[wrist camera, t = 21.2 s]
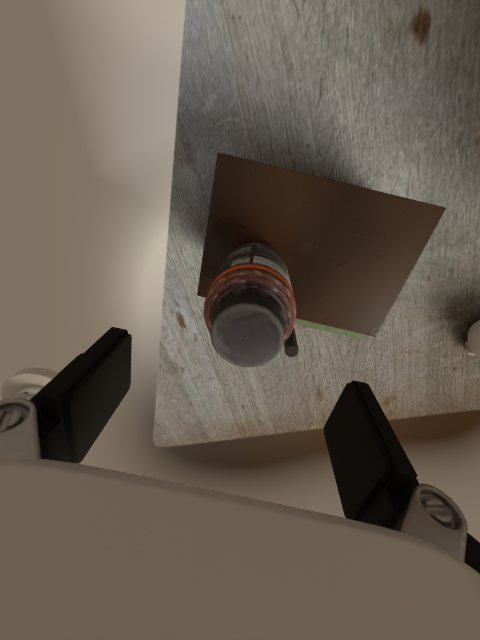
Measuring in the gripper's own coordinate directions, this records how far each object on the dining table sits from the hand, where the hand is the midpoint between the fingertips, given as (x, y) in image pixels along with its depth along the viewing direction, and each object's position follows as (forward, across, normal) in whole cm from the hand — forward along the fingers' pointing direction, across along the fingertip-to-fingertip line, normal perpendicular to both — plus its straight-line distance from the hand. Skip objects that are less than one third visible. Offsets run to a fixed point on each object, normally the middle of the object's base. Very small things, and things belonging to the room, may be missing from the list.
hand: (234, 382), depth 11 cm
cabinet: (+28, -5, -3) cm, 29 cm away
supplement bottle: (+15, 0, 0) cm, 15 cm away
